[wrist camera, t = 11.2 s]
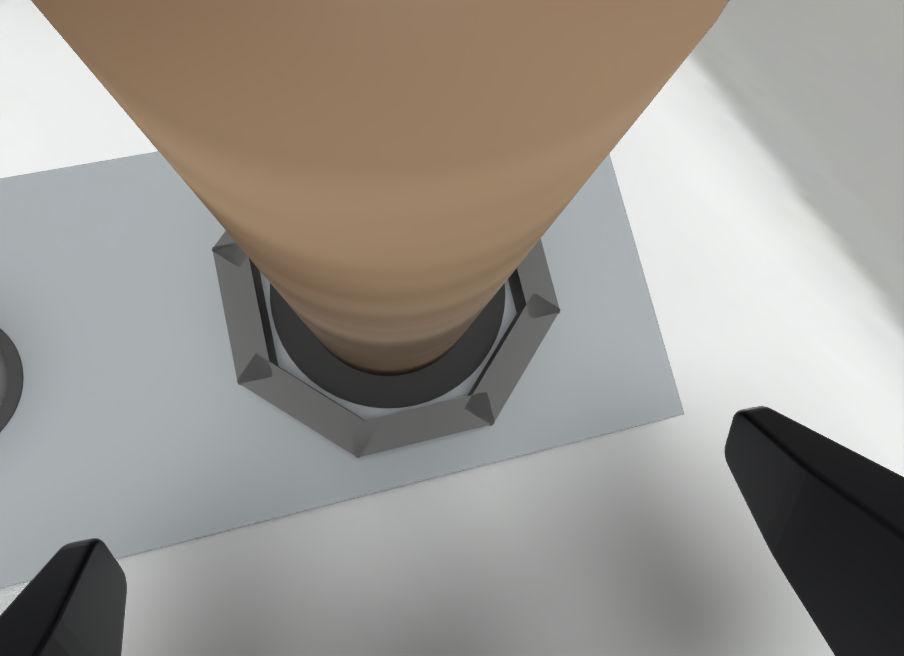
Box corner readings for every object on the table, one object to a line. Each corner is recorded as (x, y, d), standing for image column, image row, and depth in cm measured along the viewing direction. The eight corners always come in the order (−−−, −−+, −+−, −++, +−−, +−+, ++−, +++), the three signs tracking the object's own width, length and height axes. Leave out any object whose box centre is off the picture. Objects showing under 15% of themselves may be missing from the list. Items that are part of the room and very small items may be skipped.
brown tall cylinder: (502, 323, 16) (1201, -303, 2) (356, 408, 15) (50, 251, 2) (419, 185, 17) (579, -1092, 3) (273, 261, 16) (-582, -946, 2)
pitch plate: (664, 415, 18) (953, 403, 9) (-84, 604, 15) (-812, 878, 6) (575, 99, 19) (744, -200, 10) (-127, 222, 16) (-774, -31, 7)
